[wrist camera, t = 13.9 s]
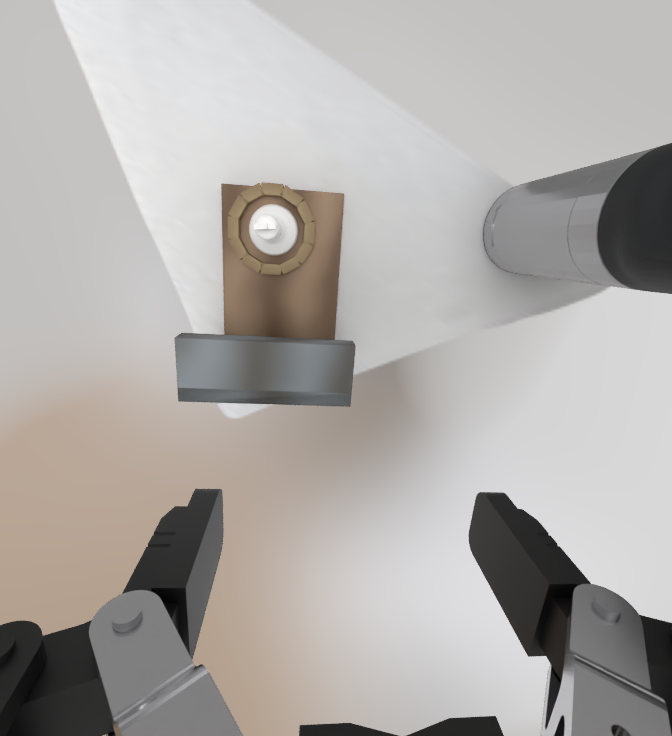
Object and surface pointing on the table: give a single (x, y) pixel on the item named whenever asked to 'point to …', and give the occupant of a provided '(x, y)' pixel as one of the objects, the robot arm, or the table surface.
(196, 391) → the base
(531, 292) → the table surface
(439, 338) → the table surface
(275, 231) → the chess piece
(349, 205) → the table surface
